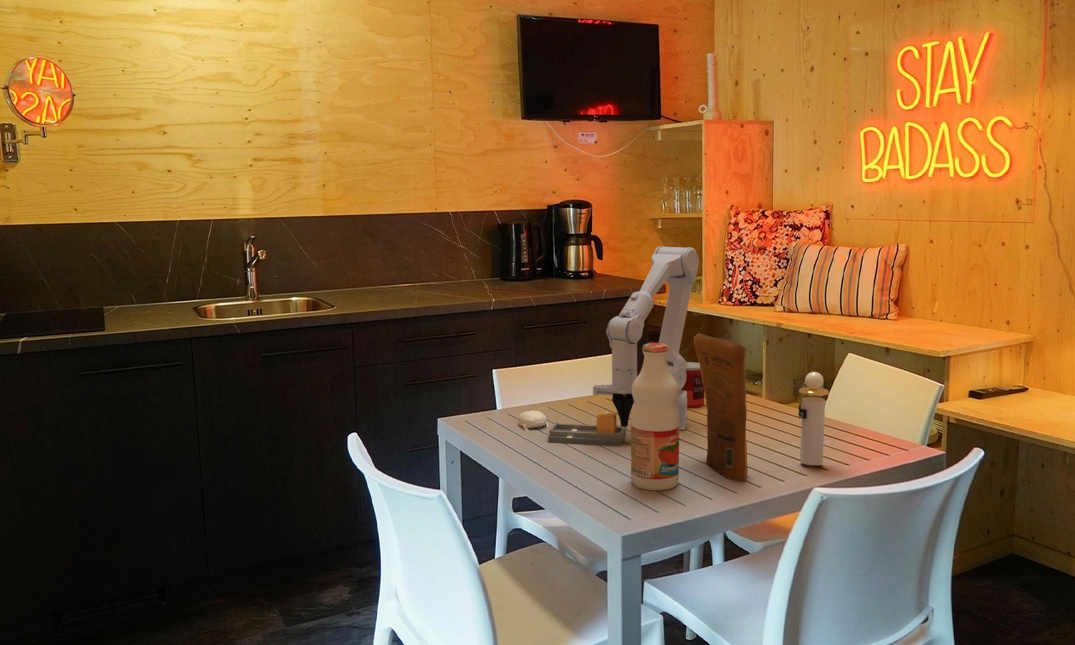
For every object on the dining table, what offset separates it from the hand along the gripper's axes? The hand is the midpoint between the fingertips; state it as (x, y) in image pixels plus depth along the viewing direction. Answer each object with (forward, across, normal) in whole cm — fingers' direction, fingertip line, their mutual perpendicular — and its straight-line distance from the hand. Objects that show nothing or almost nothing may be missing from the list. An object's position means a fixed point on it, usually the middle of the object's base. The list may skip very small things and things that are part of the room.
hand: (624, 425), depth 196 cm
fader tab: (+2, -4, 0) cm, 5 cm away
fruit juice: (+4, +10, -28) cm, 30 cm away
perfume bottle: (+4, +41, -11) cm, 42 cm away
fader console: (+3, -8, 0) cm, 9 cm away
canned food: (+4, +13, +35) cm, 37 cm away
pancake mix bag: (+4, +23, -17) cm, 29 cm away
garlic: (+4, -24, +8) cm, 25 cm away
